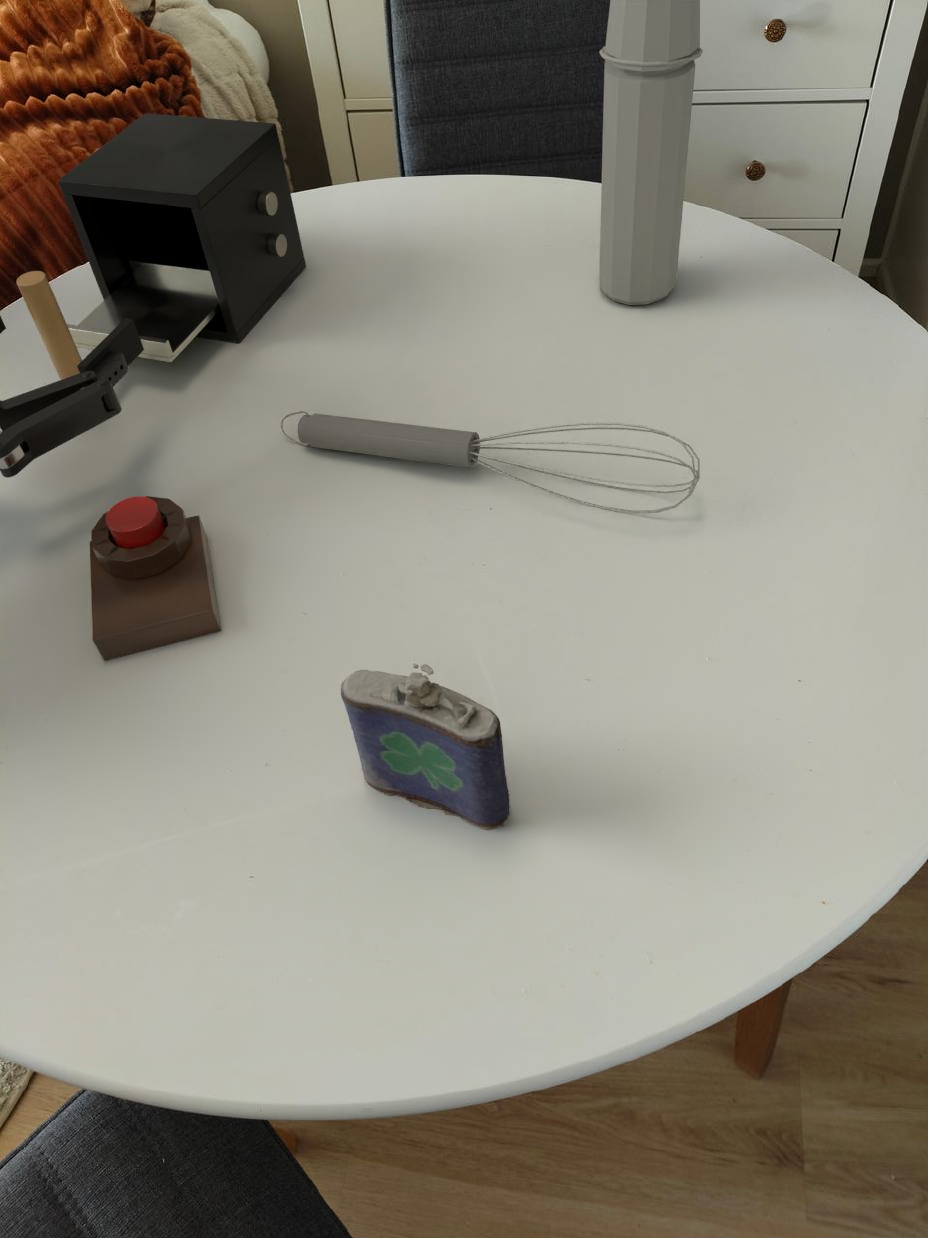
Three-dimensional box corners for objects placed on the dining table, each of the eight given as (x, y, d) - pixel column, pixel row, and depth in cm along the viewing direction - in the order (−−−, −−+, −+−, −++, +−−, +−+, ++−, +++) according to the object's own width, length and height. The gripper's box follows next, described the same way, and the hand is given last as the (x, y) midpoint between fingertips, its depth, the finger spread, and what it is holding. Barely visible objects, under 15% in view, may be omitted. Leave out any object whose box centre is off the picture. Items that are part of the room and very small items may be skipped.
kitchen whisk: (300, 415, 83) (284, 351, 79) (703, 488, 74) (713, 420, 69) (266, 461, 80) (247, 396, 75) (685, 544, 70) (694, 476, 65)
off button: (113, 521, 71) (104, 503, 70) (163, 509, 71) (155, 490, 70) (115, 555, 69) (106, 536, 67) (166, 542, 69) (159, 523, 68)
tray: (19, 389, 84) (-37, 277, 76) (138, 276, 95) (100, 168, 88) (129, 409, 81) (82, 294, 73) (239, 290, 92) (209, 179, 84)
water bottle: (672, 314, 89) (699, 0, 70) (586, 305, 91) (591, -2, 72) (689, 261, 95) (719, -42, 76) (608, 254, 97) (617, -43, 78)
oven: (113, 324, 96) (56, 180, 85) (187, 251, 104) (145, 112, 93) (248, 344, 91) (207, 195, 81) (315, 267, 100) (285, 123, 89)
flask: (357, 785, 59) (324, 673, 51) (380, 747, 61) (352, 632, 53) (500, 838, 56) (489, 727, 48) (520, 796, 57) (513, 682, 49)
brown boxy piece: (99, 551, 74) (79, 511, 71) (205, 525, 75) (190, 485, 72) (104, 661, 67) (82, 622, 64) (221, 631, 68) (205, 591, 65)
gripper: (-224, 503, 73) (-38, 343, 86) (52, 568, 66) (210, 384, 79) (-289, 420, 68) (-81, 263, 81) (5, 482, 61) (182, 299, 74)
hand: (64, 323), depth 80 cm, fingers open, 13 cm apart
